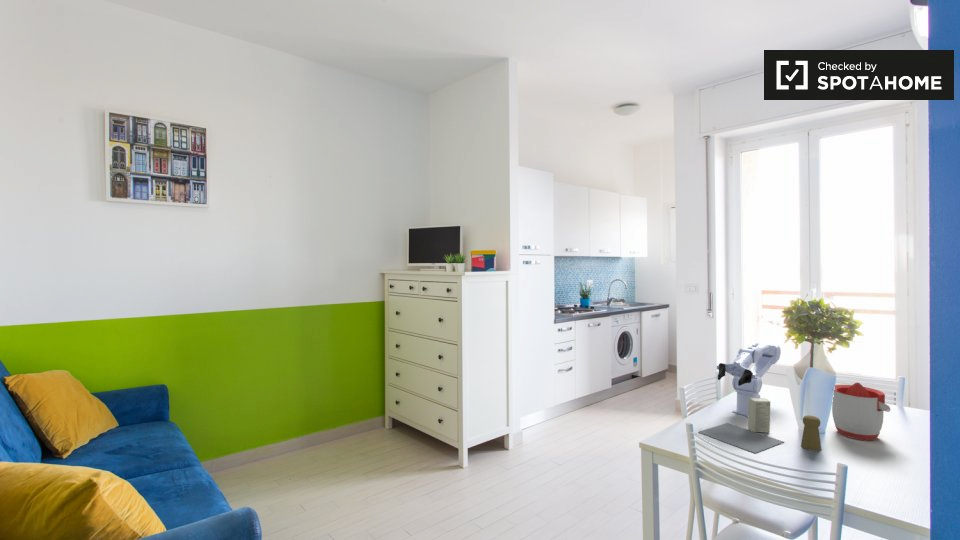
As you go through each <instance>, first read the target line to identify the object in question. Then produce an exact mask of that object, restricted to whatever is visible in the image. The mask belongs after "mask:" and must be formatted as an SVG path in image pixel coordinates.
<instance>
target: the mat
mask: <svg viewBox="0 0 960 540" xmlns="http://www.w3.org/2000/svg"><path fill="white" fill-rule="evenodd" d="M698 433H699V434H701V435H704V436H707V437H709V438H712V439H715V440H717V441H720V442H722V443H726V444H728V445H730V446H733V447H736V448H739V449H742V450H744V451H747V452H749V453H752V454H754V455H755V454H758V453H761V452H763V451H766V450H768V449H771V448H773V447H775V446H779V445H781V443H782V444H783V443H785V441H783V440H781V439H777V438H774V437H772V436H769V435H766V434H763V433H760V432H753V431H752V430H750V429H747V428H744V427H741V426H738V425H735V424H733V423H729V422H725V423H722V424H719V425H715V426H712V427H710V428H706V429H702V430H699V431H698Z"/></svg>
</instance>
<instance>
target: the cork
mask: <svg viewBox="0 0 960 540" xmlns="http://www.w3.org/2000/svg"><path fill="white" fill-rule="evenodd" d="M802 423H803V425H804V426H803V432H802V436H801V437H802V438H801V442H800V447H802V448H804V449H805V448H806V450H809V449H810V450H809V451H814V450H819V451H821V450H822V444H821V443H822V442H821V436H820V428H819V427H820V426H821V420H820V418H819V417H817V416H815V415H804V416H803V417H802Z"/></svg>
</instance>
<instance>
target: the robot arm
mask: <svg viewBox="0 0 960 540" xmlns="http://www.w3.org/2000/svg"><path fill="white" fill-rule="evenodd" d="M780 356H781V347H780V346H779V345H773V344H765V343H759V342H757V343H755V344H752V345H751V346H748V347H747V348H745V347H744V348H739V350H738V352H737V355H736V358H735V359H734V360H733V362H731V363H722V362H720V363H719V362H718V363H717V364H716V370H718V374H717V380H718V381H720V380H721V379H722V378H723V377H725V376H726V373H727V374H729V375H730V376H733V378H732V381H731V382H732V383H731V385H732V388H733V390H735V392H736V409H734V410H733V409H732V413H735V414H737V415H738V414H739V415H741V416H745V417H748V418H749V398H761V395H760V394H759V393H760V392H761V389H762V387H763V381H762V378H763V377H764V375H765V374H766V373H767V372H768V371H769V370H770V369H771V367H772V366H773V365H776V364H777V362H779V360H780ZM752 364H754V365H753V366H752V367H751V365H752ZM750 367H751V368H750ZM749 368H750V369H749Z"/></svg>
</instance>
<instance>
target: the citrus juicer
mask: <svg viewBox="0 0 960 540" xmlns="http://www.w3.org/2000/svg"><path fill="white" fill-rule="evenodd" d="M834 386H835V390H834V397H833V402H831V405H832V407H831V409H832V410H831V413H832V419H833V422H834V426H835V429H836V430H837V433H839V434H840V435H842V436H846V437H847V438H852V439H856V440H860V439H861V440H860V441H864V440H866V441H874V440H876V439H877V438H878V437H879V435H880V433H881V431H882V427H883V424H884V412H887V413H890V412H891V408H890V407H891V406H890V405H888V404H887V403H886V402H885V399H886V393H884V392H883V391H880V390H879V389H875V388H871V387H866V386H863V385H862V384H861V383H859V382H855V383H853V384H836V385H834Z"/></svg>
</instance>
